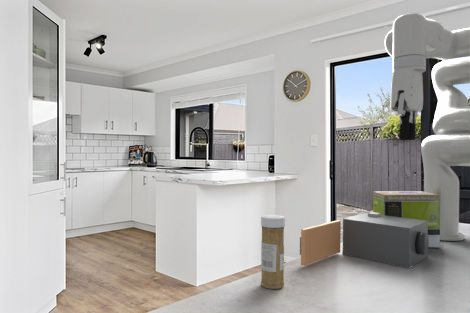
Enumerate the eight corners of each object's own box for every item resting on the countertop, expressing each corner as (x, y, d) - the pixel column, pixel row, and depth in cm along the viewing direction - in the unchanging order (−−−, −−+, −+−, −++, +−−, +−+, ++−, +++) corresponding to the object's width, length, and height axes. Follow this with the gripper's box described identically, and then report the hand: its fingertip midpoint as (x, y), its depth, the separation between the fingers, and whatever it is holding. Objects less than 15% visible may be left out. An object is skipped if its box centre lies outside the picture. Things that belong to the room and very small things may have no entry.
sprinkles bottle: (289, 286, 69) (289, 216, 69) (270, 291, 67) (271, 218, 67) (273, 279, 73) (274, 213, 73) (255, 284, 71) (256, 215, 70)
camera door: (340, 252, 92) (340, 220, 92) (304, 265, 81) (305, 229, 80) (333, 250, 93) (334, 219, 93) (297, 264, 82) (298, 228, 82)
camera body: (364, 244, 102) (365, 209, 101) (433, 257, 89) (433, 218, 89) (342, 254, 92) (343, 215, 92) (415, 269, 80) (416, 225, 80)
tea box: (423, 240, 108) (423, 190, 108) (440, 249, 98) (441, 194, 98) (371, 239, 109) (372, 189, 109) (384, 247, 99) (384, 193, 99)
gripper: (403, 73, 98) (402, 141, 99) (381, 63, 88) (380, 139, 88) (434, 69, 93) (433, 140, 93) (414, 57, 83) (413, 138, 83)
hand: (407, 139), depth 91 cm, fingers closed
